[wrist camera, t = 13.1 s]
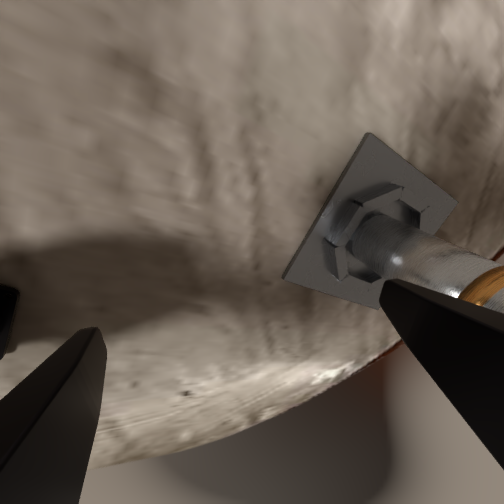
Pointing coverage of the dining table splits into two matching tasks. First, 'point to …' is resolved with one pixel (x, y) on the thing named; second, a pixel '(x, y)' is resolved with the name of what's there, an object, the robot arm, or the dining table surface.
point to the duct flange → (357, 213)
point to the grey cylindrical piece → (428, 262)
